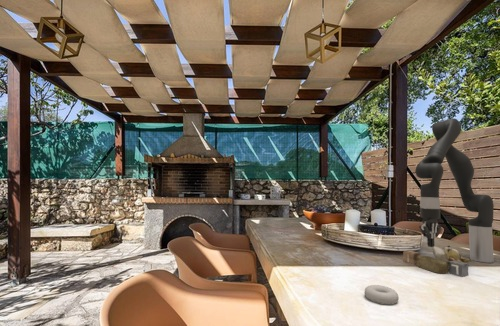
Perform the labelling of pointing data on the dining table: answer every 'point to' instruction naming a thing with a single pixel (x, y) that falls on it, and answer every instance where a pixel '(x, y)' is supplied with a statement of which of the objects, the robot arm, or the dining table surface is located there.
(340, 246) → the dining table surface
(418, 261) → the stone block
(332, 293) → the dining table surface
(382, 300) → the donut
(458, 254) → the ceramic sculpture
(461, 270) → the charcoal block
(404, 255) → the cardboard box
